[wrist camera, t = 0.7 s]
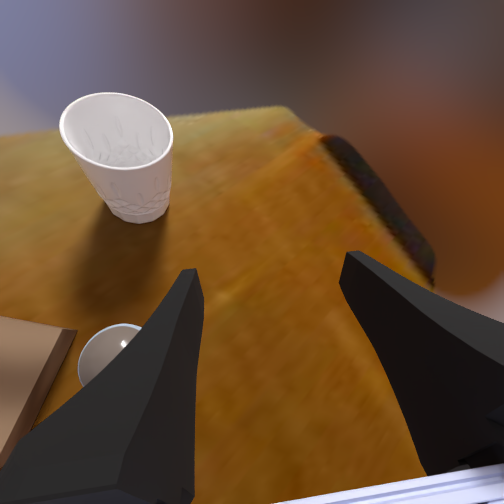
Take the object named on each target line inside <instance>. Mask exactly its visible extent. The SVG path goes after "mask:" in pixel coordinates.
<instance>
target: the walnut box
mask: <svg viewBox="0 0 504 504" xmlns="http://www.w3.org/2000/svg"><path fill="white" fill-rule="evenodd" d="M76 332H77V330H74V329H68V328H63V327H58V326H52V325H47V324H41V323H36V322H31V321H25V320H20V319H14V318H9V317H4V316H0V468H1V467H2V466H4V464H5V462H6V461H7V459H8V457H9V455H10V454H11V452H12V450H13V449H14V447H15V446H16V444H17V442H18V441H19V440H20V439H21V438H22V437H24V436H25V435H26V434H28V433H29V432H30V430H31V428H32V426H33V423H34V421H35V419H36V417H37V415H38V413H39V411H40V409H41V407H42V404H43V402H44V400H45V398H46V396H47V394H48V392H49V390H50V388H51V385H52V383H53V381H54V379H55V377H56V375H57V373H58V371H59V368H60V366H61V364H62V362H63V360H64V358H65V356H66V354H67V352H68V349H69V347H70V345H71V343H72V341H73V339H74V337H75V335H76Z"/></svg>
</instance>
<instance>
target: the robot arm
mask: <svg viewBox="0 0 504 504" xmlns="http://www.w3.org/2000/svg"><path fill="white" fill-rule="evenodd" d="M339 284H340V287H341V289H342V292H343V294H344V296H345V299H346V301H347V303H348V304H349V306H350V308H351V310H352V311H353V313H354V315H355V316H356V318H357V320H358V321H359V323H360V325H361V327H362V328H363V330H364V332H365V333H366V335H367V337H368V338H369V340H370V342H371V343H372V345H373V347H374V349H375V351H376V353H377V355H378V357H379V359H380V361H381V364H382V366H383V368H384V370H385V372H386V375H387V377H388V379H389V381H390V384H391V386H392V388H393V391H394V393H395V395H396V398H397V400H398V403H399V405H400V408H401V410H402V413H403V415H404V418H405V420H406V423H407V426H408V429H409V431H410V434H411V437H412V440H413V442H414V445H415V448H416V451H417V454H418V457H419V460H420V463H421V465H422V466H423V468H424V470H425V472H426V474H427V476H428V477H422V478H416V479H411V480H405V481H399V482H394V483H388V484H382V485H377V486H371V487H365V488H360V489H354V490H348V491H343V492H337V493H331V494H325V495H320V496H314V497H308V498H303V499H297V500H291V501H286V502H280V503H274V504H504V323H502V322H499V321H496V320H494V319H491V318H488V317H486V316H484V315H481V314H479V313H476V312H474V311H471V310H469V309H466V308H464V307H462V306H460V305H457V304H455V303H453V302H451V301H449V300H447V299H445V298H442V297H440V296H438V295H436V294H434V293H432V292H430V291H428V290H427V289H425V288H423V287H421V286H419V285H417V284H415V283H414V282H412V281H410V280H408V279H406V278H405V277H403V276H401V275H399V274H398V273H396V272H394V271H393V270H391V269H389V268H388V267H386V266H384V265H383V264H381V263H379V262H378V261H376V260H375V259H373V258H371V257H369V256H368V255H366V254H364V253H362V252H361V251H351V252H346V256H345V260H344V264H343V268H342V272H341V276H340V280H339ZM203 320H204V297H203V293H202V289H201V285H200V281H199V277H198V273H197V270H196V268H194V269H185V270H182V271H181V273H180V274H179V276H178V278H177V279H176V281H175V282H174V284H173V286H172V287H171V289H170V290H169V292H168V293H167V295H166V296H165V298H164V299H163V300H162V302H161V303H160V305H159V306H158V308H157V309H156V310H155V312H154V313H153V314H152V315H151V317H150V318H149V319H148V321H147V322H146V323H145V325H144V326H143V327H142V328H141V329H140V331H139V332H138V333H137V334H136V335H135V336H134V338H133V339H132V340H131V341H130V342H129V343H128V344H127V345H126V346H125V348H124V349H123V350H122V351H121V352H120V353H119V354H118V355H117V356H116V357H115V358H114V359H113V360H112V361H111V362H110V363H109V364H108V365H107V366H106V367H105V368H104V369H103V370H102V371H101V372H100V373H99V374H98V375H96V376H95V377H94V378H93V379H92V380H91V381H90V382H89V383H88V384H86V385H85V386H84V387H83V388H82V389H81V390H80V391H79V392H78V393H76V394H75V395H74V396H73V397H72V398H71V399H69V400H68V401H67V402H66V403H65V404H64V405H62V406H61V407H60V408H59V409H57V410H56V411H55V412H54V413H53V414H51V415H50V416H49V417H48V418H46V419H45V420H44V421H43V422H41V423H40V424H39V425H38V426H36V427H35V428H34V429H33V430H31V431H30V432H29V433H28V434H26V435H25V436H24V437H22V438H21V439H20V440H19V441H18V442H17V444H16V446H15V447H14V449H13V450H12V452H11V454H10V455H9V457H8V459H7V461H6V462H5V464H4V466H3V468H2V469H1V471H0V504H190V503H191V502H192V500H193V498H194V497H195V491H194V450H195V402H196V376H197V365H198V358H199V350H200V343H201V336H202V328H203Z"/></svg>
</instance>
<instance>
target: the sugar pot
mask: <svg viewBox="0 0 504 504" xmlns="http://www.w3.org/2000/svg"><path fill="white" fill-rule="evenodd" d="M141 328H142V327H139V326H136V325H132V324H117V325H113V326H110V327H107V328H105V329H103V330H101V331H100V332H98V333H97V334H96V335H95V336H93V337H92V338H91V339H90V340H89V342H88V343H87V344H86V346H85V347H84V349H83V351H82V353H81V355H80V358H79V362H78V375H79V379H80V381H81V383H82V385H83V387H84V386H85V385H86V384H88V383H89V382H90V381H91V380H92V379H93V378H94V377H95V376H96V375H98V374H99V373H100V372H101V371H102V370H103V369H104V368H105V367H106V366H107V365H108V364H109V363H110V362H111V361H112V360H113V359H114V358H115V357H116V356H117V355H118V354H119V353H120V352H121V351H122V350H123V349H124V348H125V346H126V345H127V344H128V343H129V342H130V341H131V340H132V339H133V338H134V336H135V335H136V334H137V333H138V332H139V331H140V329H141Z"/></svg>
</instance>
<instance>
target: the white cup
mask: <svg viewBox="0 0 504 504" xmlns="http://www.w3.org/2000/svg"><path fill="white" fill-rule="evenodd" d="M59 129H60V134H61V137H62V139H63V141H64V143H65V144H66V146H67V147H68V149H69V150H70V152H71V153H72V155H73V156H74V158H75V159H76V161H77V162H78V164H79V166H80V167H81V169H82V170H83V172H84V173H85V175H86V177H87V178H88V180H89V181H90V183H91V184H92V185H93V187H94V188H95V190H96V191H97V193H98V194H99V195H100V197H101V198H102V199H103V200H104V201H105V202H106V204H107V205H108V207H109V208H110V210H111V212H112V213H113V214H114V215H116V216H117V217H119V218H120V219H122V220H124V221H126V222H132V223H138V224H141V223H146V222H151V221H154V220H156V219H157V218H159V217H160V216H162V215H163V214H164V213H165V211H166V209H167V207H168V205H169V193H170V188H171V176H172V152H173V132H172V128H171V126H170V124H169V122H168V120H167V119H166V117H165V116H164V115H163V114H162V113H161V112H160V111H159V110H158V109H157V108H155V107H154V106H152V105H151V104H149V103H147V102H145V101H143V100H141V99H139V98H136V97H133V96H130V95H126V94H120V93H96V94H91V95H87V96H84V97H82V98H79V99H77V100H76V101H74V102H72V103H71V104H70V105H69V106H68V107H67V108H66V109H65V110H64V112H63V113H62V115H61V118H60V123H59Z"/></svg>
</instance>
